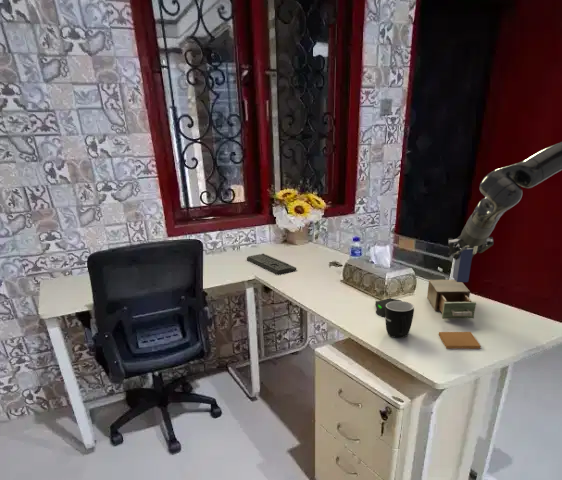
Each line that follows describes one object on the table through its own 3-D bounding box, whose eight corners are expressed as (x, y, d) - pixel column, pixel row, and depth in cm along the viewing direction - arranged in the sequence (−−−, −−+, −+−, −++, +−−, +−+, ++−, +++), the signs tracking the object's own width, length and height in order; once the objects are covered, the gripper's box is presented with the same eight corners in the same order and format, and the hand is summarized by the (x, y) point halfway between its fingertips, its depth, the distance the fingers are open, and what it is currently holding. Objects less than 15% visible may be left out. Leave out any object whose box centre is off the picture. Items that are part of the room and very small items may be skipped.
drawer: (477, 323, 141) (480, 307, 138) (445, 323, 142) (447, 307, 139) (463, 305, 155) (465, 290, 153) (434, 305, 157) (436, 290, 154)
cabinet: (467, 310, 153) (470, 291, 149) (434, 311, 154) (437, 291, 151) (457, 297, 165) (459, 279, 162) (426, 298, 166) (428, 279, 163)
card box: (463, 277, 142) (468, 244, 137) (468, 282, 137) (473, 249, 132) (452, 277, 142) (456, 245, 137) (456, 282, 137) (461, 249, 132)
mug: (381, 328, 143) (383, 301, 138) (407, 327, 142) (410, 300, 138) (389, 344, 132) (391, 315, 127) (417, 343, 132) (420, 314, 127)
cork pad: (470, 334, 135) (470, 331, 135) (480, 348, 126) (480, 345, 126) (438, 334, 137) (438, 331, 136) (446, 348, 128) (446, 345, 127)
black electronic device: (380, 320, 149) (381, 309, 147) (369, 303, 164) (370, 294, 162) (412, 318, 149) (413, 307, 148) (398, 301, 164) (398, 292, 162)
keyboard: (296, 270, 209) (296, 266, 208) (277, 274, 204) (277, 270, 203) (264, 256, 237) (263, 252, 236) (246, 259, 232) (246, 256, 231)
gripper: (502, 215, 122) (482, 246, 138) (452, 217, 124) (438, 247, 140) (506, 237, 120) (485, 266, 136) (455, 239, 121) (440, 267, 138)
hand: (461, 256), depth 138 cm, fingers closed on card box, 3 cm apart
